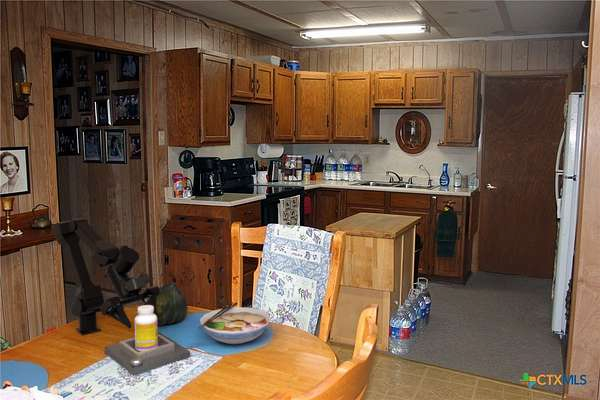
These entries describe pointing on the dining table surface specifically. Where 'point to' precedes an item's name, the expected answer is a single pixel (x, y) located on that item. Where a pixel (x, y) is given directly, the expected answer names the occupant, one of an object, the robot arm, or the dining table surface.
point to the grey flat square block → (146, 354)
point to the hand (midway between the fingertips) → (144, 323)
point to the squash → (170, 305)
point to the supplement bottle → (146, 329)
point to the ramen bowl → (235, 324)
